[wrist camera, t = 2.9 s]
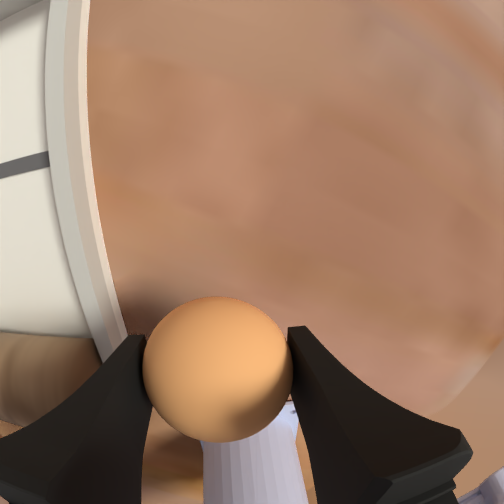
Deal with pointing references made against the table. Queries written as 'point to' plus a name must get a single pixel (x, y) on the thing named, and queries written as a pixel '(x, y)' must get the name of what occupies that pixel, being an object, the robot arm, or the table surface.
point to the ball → (217, 369)
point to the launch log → (41, 373)
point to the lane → (50, 181)
